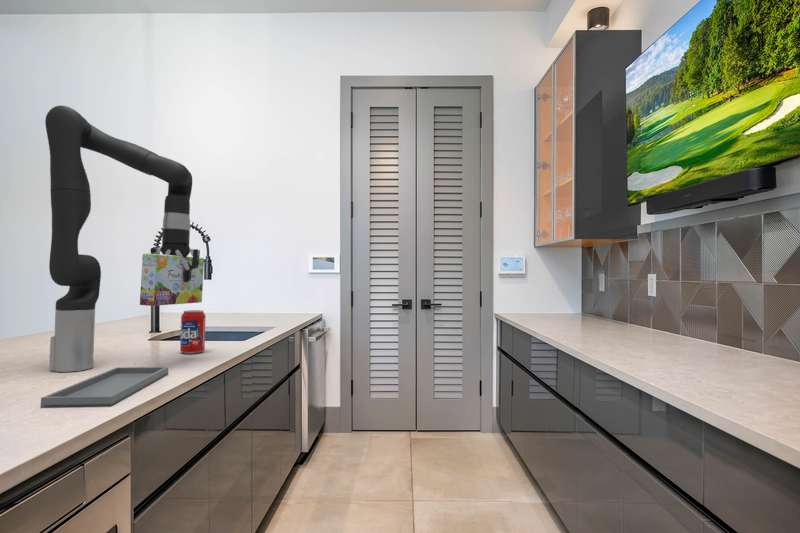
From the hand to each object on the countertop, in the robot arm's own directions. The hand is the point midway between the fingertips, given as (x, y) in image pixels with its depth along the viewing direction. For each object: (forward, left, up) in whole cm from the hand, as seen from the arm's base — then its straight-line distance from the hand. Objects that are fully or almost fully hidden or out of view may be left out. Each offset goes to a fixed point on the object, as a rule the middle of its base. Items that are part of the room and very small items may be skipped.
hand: (174, 281), depth 133 cm
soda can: (-1, +21, -26) cm, 33 cm away
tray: (-3, -28, -26) cm, 38 cm away
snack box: (0, 0, -7) cm, 7 cm away
